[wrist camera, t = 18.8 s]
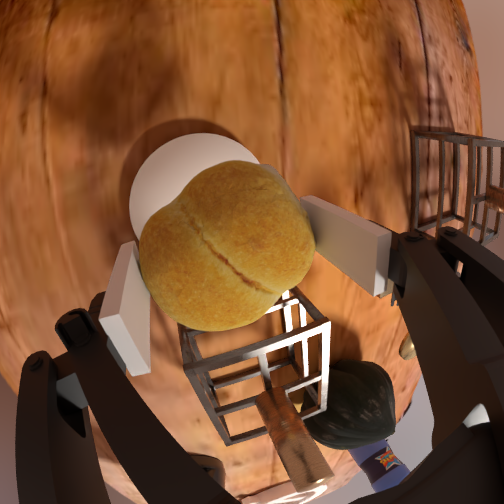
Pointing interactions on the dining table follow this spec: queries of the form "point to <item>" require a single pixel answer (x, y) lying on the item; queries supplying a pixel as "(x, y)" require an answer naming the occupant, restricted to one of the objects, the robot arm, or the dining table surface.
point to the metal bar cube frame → (271, 390)
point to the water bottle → (380, 465)
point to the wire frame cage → (495, 196)
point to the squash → (353, 406)
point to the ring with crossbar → (284, 495)
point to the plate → (177, 171)
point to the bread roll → (226, 247)
